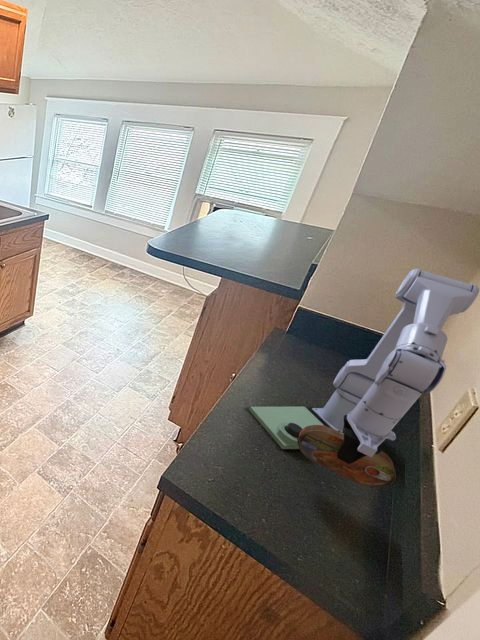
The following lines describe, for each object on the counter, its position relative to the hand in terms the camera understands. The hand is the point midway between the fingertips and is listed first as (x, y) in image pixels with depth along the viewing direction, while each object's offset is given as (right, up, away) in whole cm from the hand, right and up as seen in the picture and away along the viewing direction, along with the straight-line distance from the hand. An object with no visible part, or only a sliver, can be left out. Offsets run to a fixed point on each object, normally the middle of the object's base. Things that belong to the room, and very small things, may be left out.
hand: (343, 455), depth 77 cm
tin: (0, -3, +2) cm, 4 cm away
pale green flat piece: (+4, -2, +19) cm, 19 cm away
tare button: (0, -1, +14) cm, 14 cm away
